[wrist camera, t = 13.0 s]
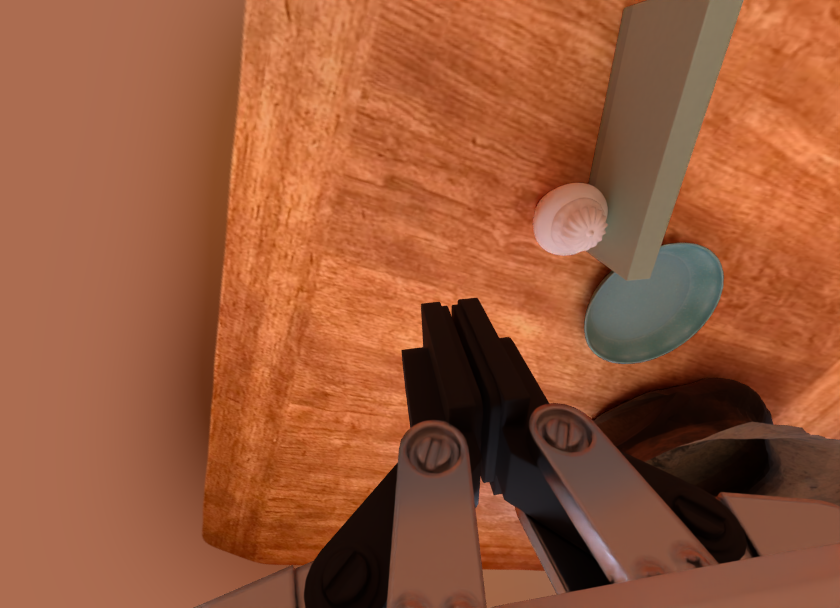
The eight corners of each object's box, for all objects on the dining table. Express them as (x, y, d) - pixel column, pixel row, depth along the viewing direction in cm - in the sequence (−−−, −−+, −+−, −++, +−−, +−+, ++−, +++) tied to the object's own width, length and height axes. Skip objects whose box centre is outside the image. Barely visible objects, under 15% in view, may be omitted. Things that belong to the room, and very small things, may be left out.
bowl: (496, 463, 54) (531, 572, 41) (668, 304, 44) (792, 377, 30) (632, 530, 65) (696, 634, 51) (797, 414, 54) (931, 505, 41)
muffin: (590, 221, 33) (638, 248, 27) (531, 251, 34) (564, 284, 28) (575, 160, 30) (625, 176, 24) (510, 195, 31) (542, 219, 25)
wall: (623, 8, 25) (718, -26, 18) (688, 5, 25) (805, -28, 18) (575, 244, 34) (626, 281, 27) (623, 240, 35) (685, 275, 28)
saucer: (728, 278, 39) (750, 289, 36) (624, 367, 44) (637, 381, 42) (655, 205, 33) (675, 213, 31) (545, 316, 38) (556, 330, 36)
